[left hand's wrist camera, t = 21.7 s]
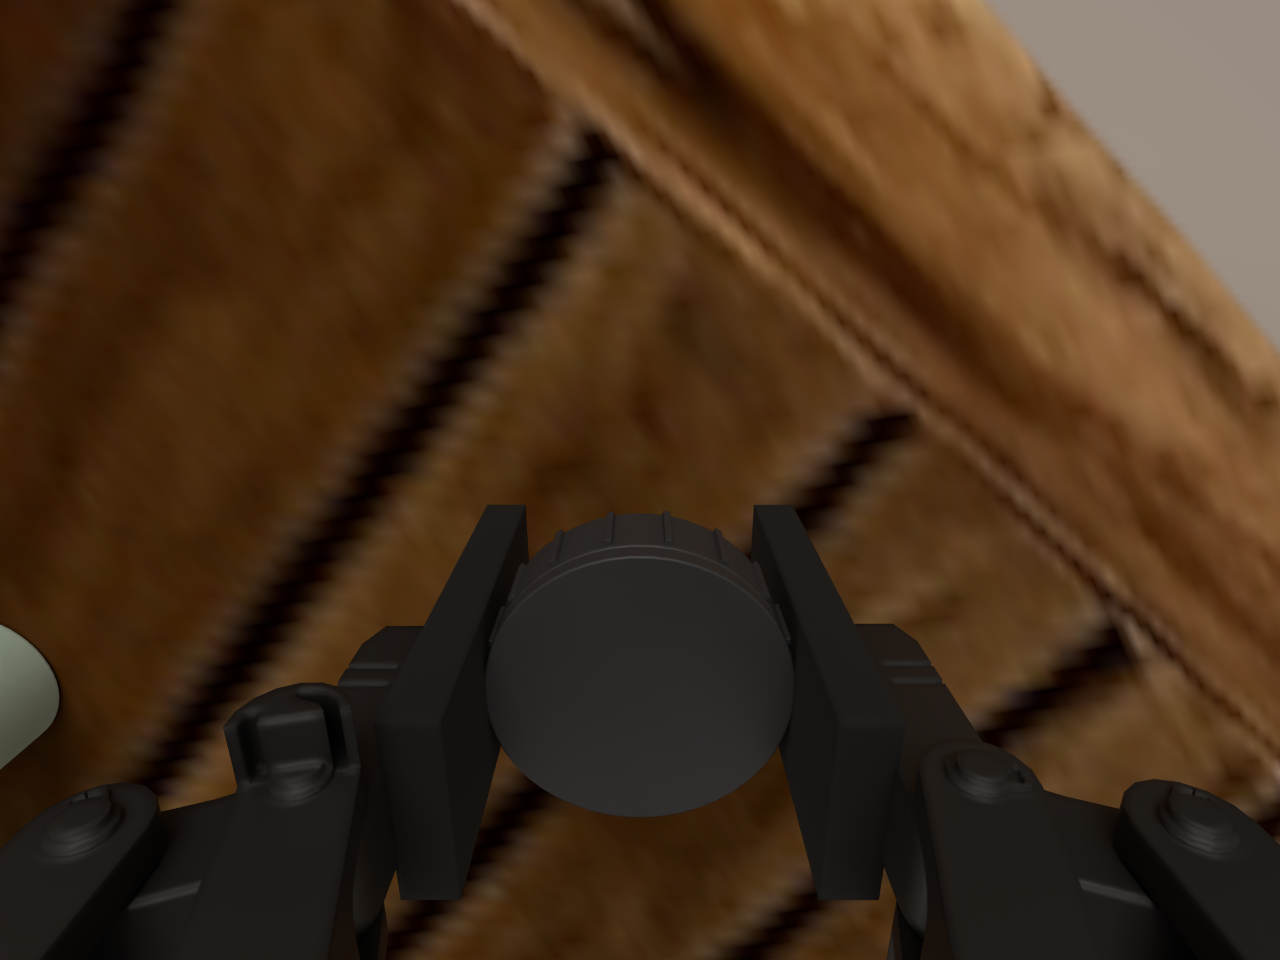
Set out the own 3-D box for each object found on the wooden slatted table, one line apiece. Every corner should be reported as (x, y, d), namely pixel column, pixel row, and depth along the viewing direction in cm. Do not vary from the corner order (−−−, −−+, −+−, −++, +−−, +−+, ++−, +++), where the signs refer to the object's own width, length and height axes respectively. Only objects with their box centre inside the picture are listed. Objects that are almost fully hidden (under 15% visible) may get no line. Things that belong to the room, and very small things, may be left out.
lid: (649, 796, 13) (651, 869, 12) (440, 648, 12) (413, 708, 11) (839, 629, 12) (867, 687, 11) (626, 448, 11) (624, 485, 9)
